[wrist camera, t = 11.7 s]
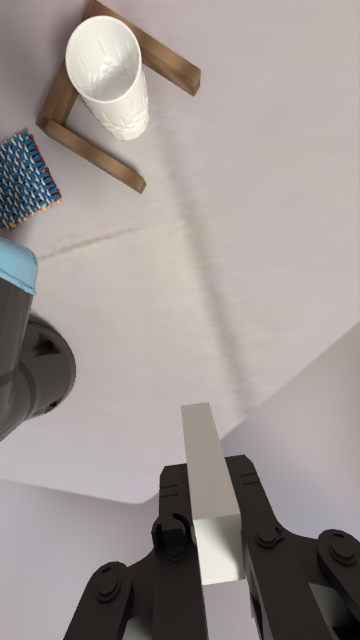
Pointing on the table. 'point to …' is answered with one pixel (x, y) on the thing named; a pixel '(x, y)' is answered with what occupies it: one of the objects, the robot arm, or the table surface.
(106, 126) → the white cup
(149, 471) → the table surface
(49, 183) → the woven mat
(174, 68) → the walnut bay
